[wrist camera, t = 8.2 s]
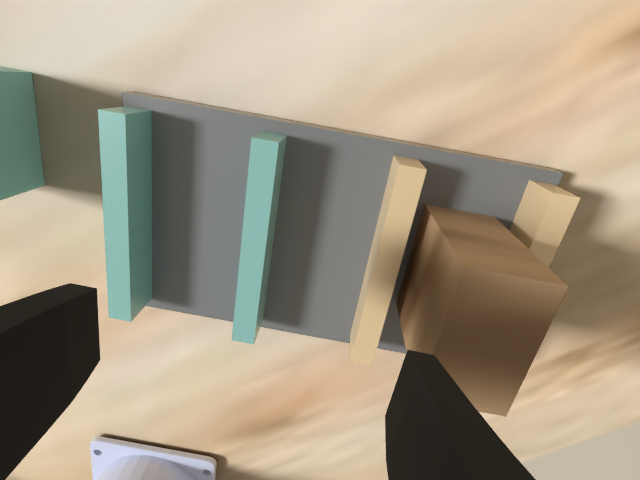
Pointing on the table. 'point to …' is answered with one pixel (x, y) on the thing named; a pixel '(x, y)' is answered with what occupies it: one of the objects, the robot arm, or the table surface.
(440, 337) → the walnut plug
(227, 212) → the slot comb
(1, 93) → the teal plug
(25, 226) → the table surface
